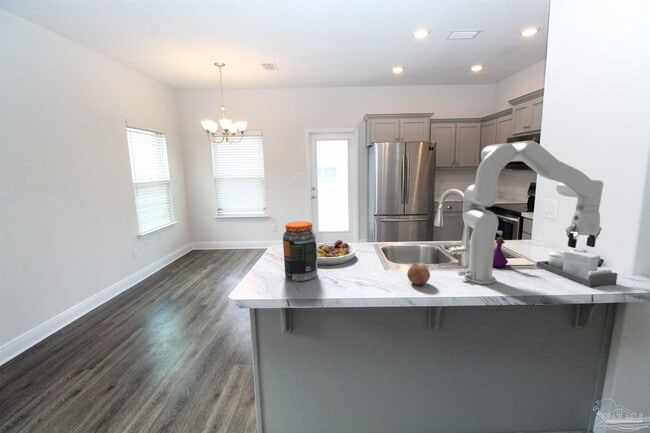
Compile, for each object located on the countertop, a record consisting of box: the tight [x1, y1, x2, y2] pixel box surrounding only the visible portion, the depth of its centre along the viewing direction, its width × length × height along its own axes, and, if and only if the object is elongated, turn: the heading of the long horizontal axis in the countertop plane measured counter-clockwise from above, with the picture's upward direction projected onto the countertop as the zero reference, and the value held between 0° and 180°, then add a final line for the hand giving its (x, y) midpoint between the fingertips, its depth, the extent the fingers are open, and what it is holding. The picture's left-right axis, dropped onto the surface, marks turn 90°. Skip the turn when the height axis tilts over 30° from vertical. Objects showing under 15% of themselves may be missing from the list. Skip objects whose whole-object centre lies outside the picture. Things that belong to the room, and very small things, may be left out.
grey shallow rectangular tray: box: [535, 260, 618, 288], centre depth 136 cm, size 13×26×5 cm, turn 9°
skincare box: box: [562, 249, 600, 279], centre depth 133 cm, size 10×6×10 cm, turn 25°
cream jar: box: [547, 250, 564, 270], centre depth 144 cm, size 7×7×7 cm
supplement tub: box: [282, 220, 318, 282], centre depth 142 cm, size 16×16×26 cm
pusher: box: [587, 269, 613, 280], centre depth 125 cm, size 10×1×5 cm, turn 99°
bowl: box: [316, 239, 356, 266], centre depth 170 cm, size 30×30×8 cm
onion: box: [406, 263, 431, 287], centre depth 130 cm, size 10×9×10 cm
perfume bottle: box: [493, 230, 509, 268], centre depth 150 cm, size 8×8×18 cm
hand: (580, 246), depth 132 cm, fingers open, 9 cm apart
